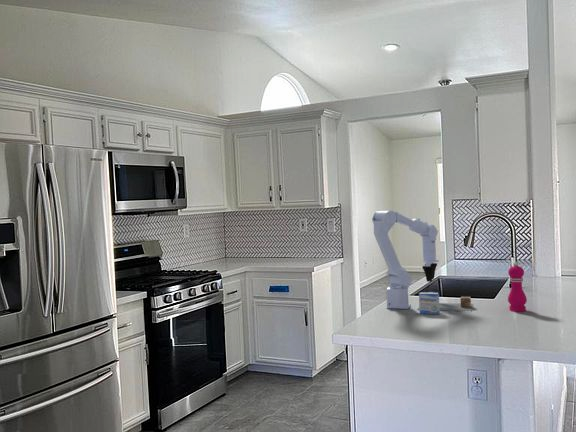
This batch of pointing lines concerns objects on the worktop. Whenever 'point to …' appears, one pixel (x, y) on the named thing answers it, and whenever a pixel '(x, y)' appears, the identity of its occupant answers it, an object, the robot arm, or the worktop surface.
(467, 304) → the walnut block
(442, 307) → the mat
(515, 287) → the pepper mill
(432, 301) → the medicine box
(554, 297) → the worktop surface
